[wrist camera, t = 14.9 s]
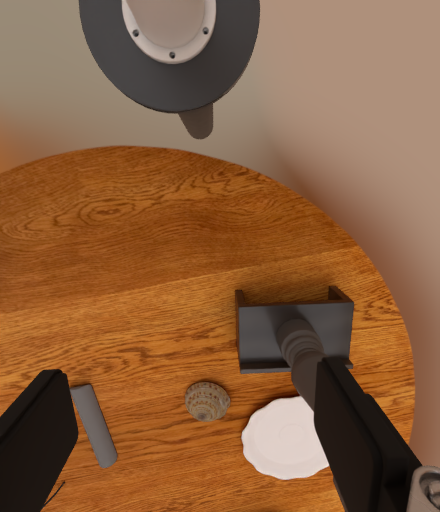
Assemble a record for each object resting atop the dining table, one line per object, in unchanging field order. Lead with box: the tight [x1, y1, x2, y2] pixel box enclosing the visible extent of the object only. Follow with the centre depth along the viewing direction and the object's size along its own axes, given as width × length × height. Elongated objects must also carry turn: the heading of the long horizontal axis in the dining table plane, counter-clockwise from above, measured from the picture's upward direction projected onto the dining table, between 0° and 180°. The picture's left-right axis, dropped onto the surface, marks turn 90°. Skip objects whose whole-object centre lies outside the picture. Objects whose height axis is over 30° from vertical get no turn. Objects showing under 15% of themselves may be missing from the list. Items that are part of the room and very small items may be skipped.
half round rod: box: [70, 385, 117, 468], centre depth 57 cm, size 4×20×2 cm, turn 11°
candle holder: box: [276, 319, 348, 512], centre depth 33 cm, size 6×6×25 cm
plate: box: [241, 396, 329, 480], centre depth 58 cm, size 21×21×2 cm
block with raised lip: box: [235, 286, 354, 374], centre depth 48 cm, size 11×18×8 cm, turn 92°
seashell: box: [185, 382, 230, 422], centre depth 55 cm, size 8×6×8 cm
